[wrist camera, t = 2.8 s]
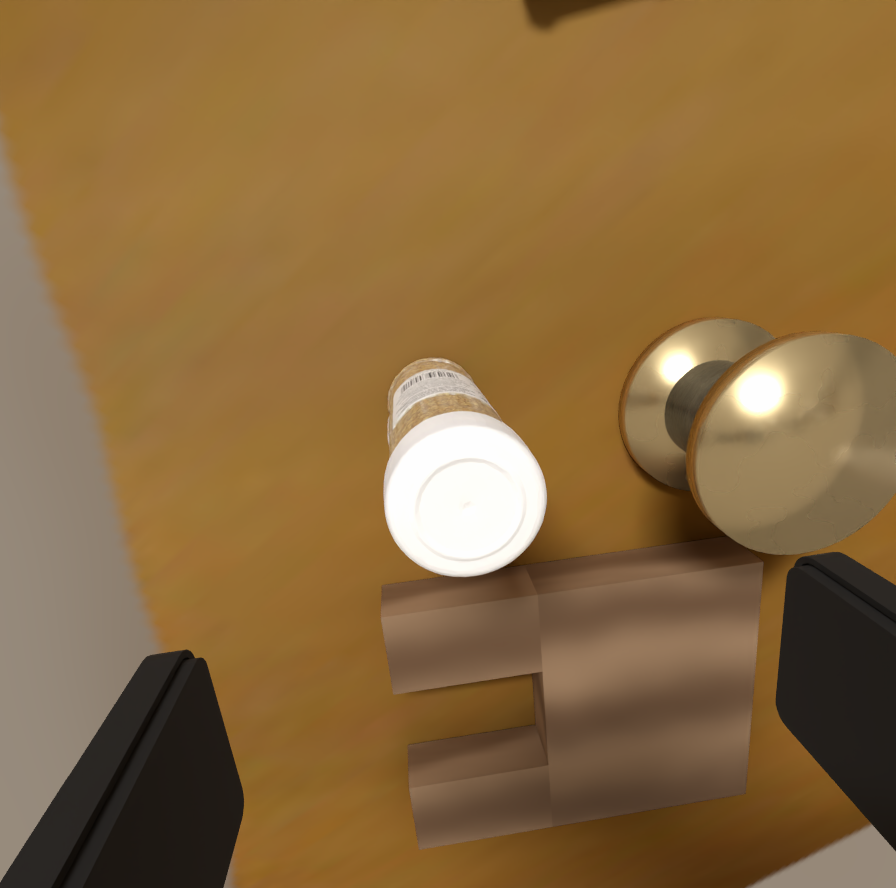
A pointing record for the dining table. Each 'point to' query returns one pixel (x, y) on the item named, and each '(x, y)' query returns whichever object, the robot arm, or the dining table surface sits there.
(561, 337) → the dining table surface
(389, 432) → the sprinkles bottle
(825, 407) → the bobbin
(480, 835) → the notched board
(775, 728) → the dining table surface
